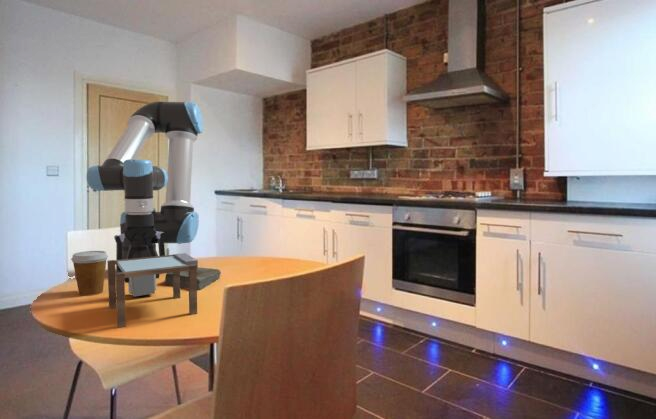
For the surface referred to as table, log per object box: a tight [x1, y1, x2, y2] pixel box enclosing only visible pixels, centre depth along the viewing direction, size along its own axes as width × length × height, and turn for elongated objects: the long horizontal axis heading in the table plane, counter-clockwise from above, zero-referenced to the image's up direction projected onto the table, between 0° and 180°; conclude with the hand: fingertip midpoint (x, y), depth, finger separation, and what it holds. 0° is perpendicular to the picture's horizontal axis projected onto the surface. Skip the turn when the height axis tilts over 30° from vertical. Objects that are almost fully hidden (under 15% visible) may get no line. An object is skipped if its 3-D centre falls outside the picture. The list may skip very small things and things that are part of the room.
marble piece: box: [164, 267, 222, 291], centre depth 134 cm, size 17×15×4 cm
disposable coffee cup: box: [70, 250, 109, 296], centre depth 121 cm, size 10×10×12 cm
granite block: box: [132, 275, 156, 297], centre depth 118 cm, size 6×6×6 cm
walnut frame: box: [107, 253, 198, 329], centre depth 105 cm, size 18×18×13 cm
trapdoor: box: [117, 252, 199, 273], centre depth 106 cm, size 15×17×2 cm
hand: (142, 290), depth 119 cm, fingers closed on granite block, 6 cm apart
